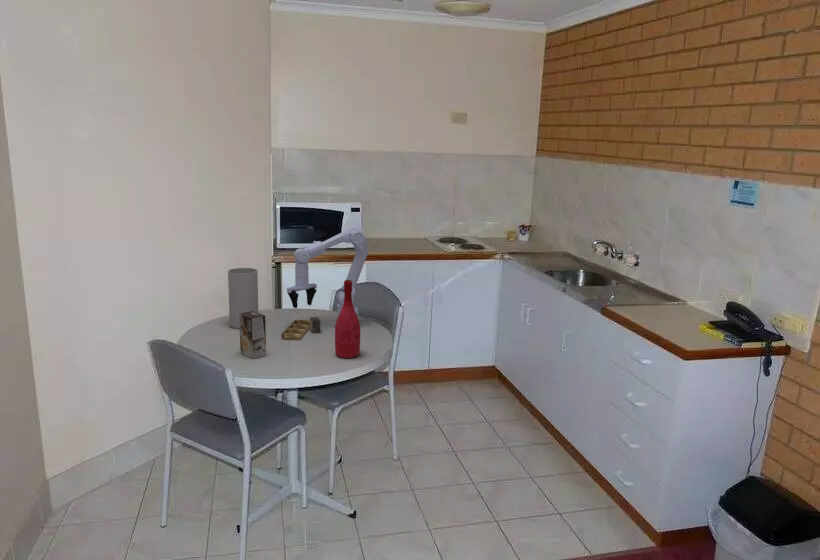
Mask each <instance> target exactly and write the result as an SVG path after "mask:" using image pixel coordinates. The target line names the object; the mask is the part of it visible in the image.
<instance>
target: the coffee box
mask: <svg viewBox="0 0 820 560" xmlns="http://www.w3.org/2000/svg"><path fill="white" fill-rule="evenodd" d="M239 322H240V329H239V341H240V342H239V343H240V346H239V347H240V355H241V354H242V355H244V356H246V357H249V358H251V359H256V358H257V359H258V358H261V357H265V356H267V332H266V331H267V330H266V329H267V328H266V315H265V314H263V313H259V312H258V313H257V312H254V311H250V312H245V313H241V314H239Z"/></svg>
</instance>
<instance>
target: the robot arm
mask: <svg viewBox="0 0 820 560" xmlns="http://www.w3.org/2000/svg"><path fill="white" fill-rule="evenodd" d="M367 240H368V239H367V237H366V235H365V234H364V232H363V231H361V230H359V229H358V228H355V227H351V228H350V229H347V230H344V231H342V232H340V233H338V234H335V235H334V236H332V237H330V238H328V239H325V240H324V241H321V240H320V241H319V240H318V241H316V240H313V241H312V243H310V244H308V245H303V246H302V247H301V248H297V249H296V250H295V252H294V254H293V257H294V259H295V262H294V264H295V267H294V270H295V273H294V275H295V276H294V277H295V278H294V279H295V280H294V283H295V285H293V286H290V287H286V293H287V295H288V297H289V298H290V301H291V304H292V307H293V308H294V309H297V308H298V298H299V293H297V292H300V291H305V292H306V293H305V294H306V303H307V305H308V306H312V303H313V301H314V298H315V295H316V293H317V288H318V287H317V286H318V284H317V283H310V279H309V261H310V259H313V258H316V257H318V256H321V255H323V254H324V253H325V251H326V249H328V248H331V247H333V246H336V245H339V244H341V243H345V244H346V243H347V244H352V245H353V247H354V249H355V255H354V257H353V260H352V263H351V265H350V268H349V270H348V272H347V277H346V279H345V280H351V281H352V292H351V295H352V304H353V307H354V309H355V312H356V314H357V316H358V317H359V308H358V306H354V303H355V294H356V286H357V284H358V281H359V278H360V275H361V273H362V270H363V268H364V265H365V261H366V260H367V256H368V254H369V246H368V242H367ZM344 294H345V292H344V284H343V285H342V286H341V287H340V290H339V291H338V292H337V293H336V300H337V302H338V303H337V305H336V319H337V318H338V316H339V313H340V311H341V309H342V307H343V304H344V296H345V295H344Z"/></svg>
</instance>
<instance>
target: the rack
mask: <svg viewBox="0 0 820 560" xmlns="http://www.w3.org/2000/svg"><path fill="white" fill-rule="evenodd" d="M308 331H310V319H309V320H308V319H307V320H306V319H294V320H293V321H292V322H291V323H290V324H289V325H288V326H287V328H285V330H283V332H282V333H281V338H280V339H281V340H283V339H284V340H286V341H287V340H289V341H301V340H302V339H303V337H304V336H305V335H306V334H307V333H308ZM284 340H283V341H284Z"/></svg>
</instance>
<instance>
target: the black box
mask: <svg viewBox="0 0 820 560" xmlns="http://www.w3.org/2000/svg"><path fill="white" fill-rule="evenodd" d="M309 318H310V319H309V320H310V329H309V331H310V332H311V334H312V333H313V334H312V335H314V333H316V334H321V319H320V318H319V316H311V317H309Z"/></svg>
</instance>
